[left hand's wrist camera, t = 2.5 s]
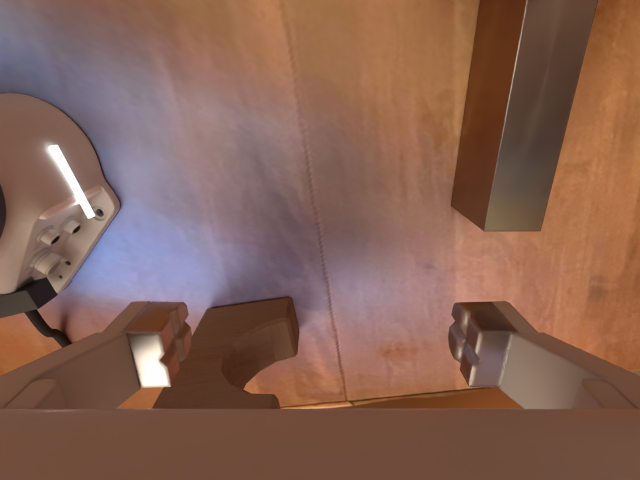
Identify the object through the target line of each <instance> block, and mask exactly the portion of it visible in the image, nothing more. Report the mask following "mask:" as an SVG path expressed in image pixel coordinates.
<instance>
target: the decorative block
mask: <svg viewBox="0 0 640 480" xmlns="http://www.w3.org/2000/svg"><path fill="white" fill-rule="evenodd" d="M298 340H299V328H298V324H297V319H296V315H295V310H294V306H293V302H292V299H290V298H282V299H275V300H268V301H261V302H254V303H247V304H240V305H233V306H226V307H219V308H213V309H207V311H206V312H205V314H204V316H203V317H202V319H201V321H200V323H199V325H198V326H197V328H196V330H195V332H194V334H193V336H192V342H191V347H190V351H189V353H188V355H187V357H186V359H184V360H183V361H181V362H180V363H179V366H180V371H179V373H178V374H177V376H176V378H175V380H174V382H173V384H172V386H171V387H164V388H163V389H162V391H161V393H160V395H159V397H158V398H157V400H156V402H155V404H154V406H153V407H152V409H280V405H279V401H278V398H277V397H276V396H275V395H274V394H251V393H249V392H247V391H245V390H243V389H244V387H245V385H246V383H247V382H248V381H250V380H251V379H252V378H253V377H254V376H255V375H256V374H257V373H258V372H259V371H261V370H263V369H264V368H266V367H268V366H270V365H271V364H273V363H275V362H277V361H280V360H284V359H287V358H291V357H295V356H296V354H297V351H298Z"/></svg>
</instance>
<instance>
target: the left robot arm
mask: <svg viewBox="0 0 640 480" xmlns="http://www.w3.org/2000/svg"><path fill="white" fill-rule="evenodd" d="M100 209H101V210H102V211H103V213H104V215H103V214H101V213H100ZM119 209H120V202H119V200H118V198H117V196H116V195H115V193H114V192H113V190H112V189H111V188H110V186H109V185H108V184H107V182H106V181H105V179H104V176H103V174H102V171H101V167H100V164H99V161H98V158H97V155H96V153H95V151H94V149H93V147H92V145H91V143H90V142H89V140H88V138H87V137H86V136H85V134H84V133H83V132H82V130H81V129H80V128H79V127H78V126H77V125H76V124H75V123H74V122H73V121H72V120H71V119H70V118H69V117H68V116H67V115H65V114H64V113H63V112H62V111H60V110H59V109H57V108H56V107H54V106H52V105H51V104H49V103H47V102H45V101H43V100H40V99H38V98H35V97H32V96H28V95H24V94H18V93H2V94H0V318H3V317H7V316H11V315H15V314H19V313H23V312H24V313H25V314H26V315H27V317H28V318H29V319H30V321H31V322H32V323H33V325H34V326H35V327H36V328H37V330H38V331H39V332H40V333H42V334H43V335H44V336H46V337H53V338H54V339H55V340H56V341H57V342H58V343H59V344H60V345H61V347H62V348H61V349H59V350H57V351H55V352H52V353H50V354H48V355H46V356H44V357H41V358H39V359H37V360H35V361H33V362H30V363H28V364H26V365H24V366H21V367H19V368H17V369H15V370H13V371H10V372H8V373H6V374H4V375H2V376H0V480H640V376H638V375H636V374H634V373H632V372H629V371H627V370H625V369H623V368H621V367H618V366H616V365H614V364H612V363H609V362H607V361H605V360H603V359H601V358H598V357H596V356H594V355H592V354H590V353H587V352H585V351H583V350H581V349H579V348H576V347H574V346H572V345H570V344H568V343H565V342H563V341H561V340H559V339H557V338H554V337H552V336H550V335H548V334H545V333H538V332H537V331H536V330H535V329H534V328H533V327H532V326H531V325H530V324H529V323H528V322H527V321H526V320H525V318H524V317H523V316H522V315H521V314H520V313H519V312H518V311H517V310H516V309H515V308H514V307H513V306H512V305H511V304H510V303H508V302H506V301H496V302H460V303H455V304H454V306H453V309H452V314H451V315H452V316H453V318H454V320H455V322H454V323H453V324H452V325H451V326H450V327H449V334H448V340H449V347H450V351H451V353H452V355H453V357H454V359H456V360H457V361H459V362H460V363H461V366H460V371H461V373H462V374H463V376H464V378H465V380H466V382H467V384H468V385H469V387H496V388H500V389H501V390H502V391H503V392H504V393H506V394H507V395H508V396H509V397H511V398H512V399H513V400H514V401H516V402H517V403H518V404H519V405H521V406H522V407H523V408H524V409H116V408H117V407H118V406H119V405H121V404H122V403H123V402H124V401H126V400H127V399H128V398H130V397H131V396H132V395H133V394H135V393H136V392H137V391H138V390H140V388H144V387H171V386H172V384H173V382H174V380H175V378H176V376H177V374H178V373H179V371H180V366H179V363H180V362H181V361H183V360H184V359H186V357H187V355H188V353H189V351H190V347H191V342H192V333H191V327H190V326H189V325H188V324H187V323H186V322H185V320H186V318H187V316H188V315H189V314H188V310H187V305H186V304H185V303H184V302H150V301H136V302H131V303H130V304H129V305H128V306H127V307H126V308H125V309H124V310H123V311H122V312H121V313H120V314H119V315H118V316H117V318H116V319H115V320H114V321H113V322H112V323H111V324H110V325H109V326H108V327H107V328H106V329H105V330H104V331H103V332H102V333H95V334H92V335H90V336H88V337H86V338H83V339H81V340H79V341H77V342H75V343H72V344H71V343H70V341H69V340H68V339H67V338H66V337H65V336H64V334H63V333H62V332H60V331H59V330H57V329H51V328H50V327H49V326H48V325H47V323H46V322H45V321H44V319H43V318H42V317H41V315H40V314H39V312H38V311H37V309H39V308H40V307H42V306H43V305H44V304H46V303H47V302H49V301H50V300H51V299H53V298H54V297H56V296H57V295H58V294H57V293H59V292H61V291H63V290H64V289H65V288H66V287H67V286H68V284H69V283H70V282H71V280H72V279H73V277H74V276H75V274H76V273H77V271H78V270H79V268H80V267H81V265H82V264H83V262H84V261H85V260H86V258H87V257H88V255H89V254H90V252H91V251H92V249H93V248H94V246H95V245H96V243H97V242H98V240H99V239H100V238H101V236H102V235H103V233H104V232H105V230H106V229H107V227H108V226H109V224H110V223H111V221H112V220H113V218H114V217H115V215H116V214H117V213H118V211H119Z"/></svg>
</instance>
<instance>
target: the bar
mask: <svg viewBox="0 0 640 480" xmlns="http://www.w3.org/2000/svg"><path fill="white" fill-rule="evenodd" d="M597 2H598V0H480V5H479V12H478V19H477V26H476V33H475V40H474V47H473V54H472V61H471V68H470V76H469V83H468V90H467V97H466V104H465V111H464V118H463V125H462V132H461V139H460V146H459V153H458V160H457V167H456V174H455V181H454V188H453V195H452V202H451V206H452V207H453V208H454V209H456V210H457V211H458V212H459V213H461V214H462V215H463V216H465V217H466V218H467V219H469V220H470V221H471V222H473V223H474V224H475V225H476V226H478V227H479V228H480V229H482V230H483V231H541V228H542V224H543V220H544V216H545V211H546V207H547V203H548V199H549V195H550V191H551V187H552V183H553V179H554V175H555V171H556V167H557V163H558V159H559V155H560V151H561V147H562V143H563V139H564V135H565V131H566V127H567V123H568V119H569V115H570V111H571V107H572V102H573V98H574V94H575V90H576V86H577V82H578V78H579V74H580V70H581V66H582V62H583V58H584V54H585V50H586V46H587V42H588V38H589V34H590V30H591V26H592V22H593V18H594V14H595V10H596V6H597Z"/></svg>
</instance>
